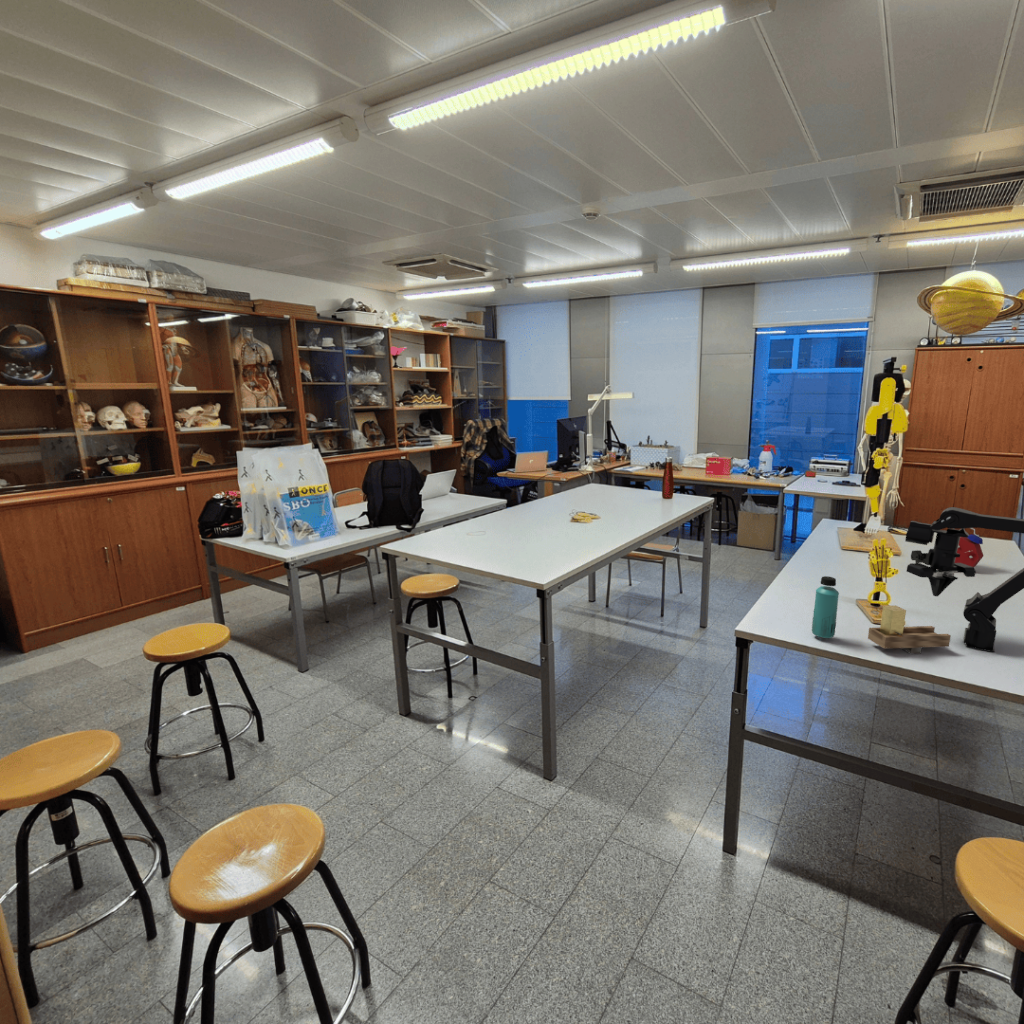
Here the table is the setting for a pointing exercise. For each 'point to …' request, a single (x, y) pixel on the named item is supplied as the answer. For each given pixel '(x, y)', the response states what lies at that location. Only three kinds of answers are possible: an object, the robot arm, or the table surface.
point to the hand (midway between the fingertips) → (935, 595)
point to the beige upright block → (892, 620)
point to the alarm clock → (970, 550)
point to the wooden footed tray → (910, 639)
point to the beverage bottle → (825, 609)
